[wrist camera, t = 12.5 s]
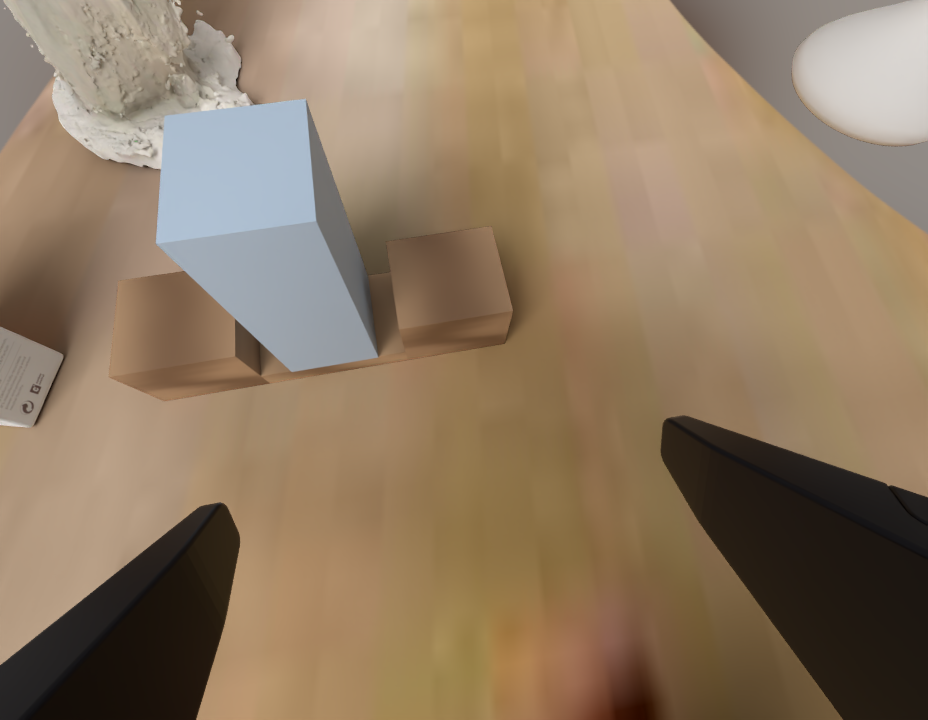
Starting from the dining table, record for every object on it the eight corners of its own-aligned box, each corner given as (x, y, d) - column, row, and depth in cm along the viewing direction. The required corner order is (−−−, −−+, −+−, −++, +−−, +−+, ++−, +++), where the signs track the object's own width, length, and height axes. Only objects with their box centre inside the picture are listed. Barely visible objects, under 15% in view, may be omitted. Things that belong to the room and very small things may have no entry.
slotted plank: (486, 268, 27) (491, 225, 23) (504, 343, 25) (513, 310, 21) (168, 317, 25) (118, 280, 21) (164, 401, 23) (108, 377, 20)
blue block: (378, 357, 23) (316, 221, 13) (291, 371, 23) (156, 243, 12) (368, 276, 25) (305, 98, 15) (287, 288, 24) (164, 115, 14)
